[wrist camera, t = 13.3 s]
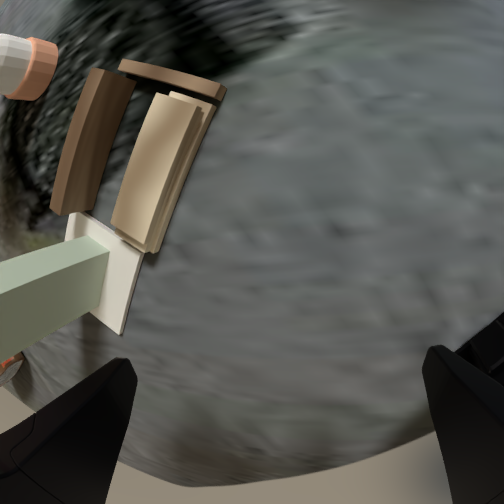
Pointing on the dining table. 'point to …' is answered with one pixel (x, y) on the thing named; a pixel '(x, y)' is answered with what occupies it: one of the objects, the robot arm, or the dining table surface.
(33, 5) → the dining table surface
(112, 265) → the white mat
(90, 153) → the offcut rack
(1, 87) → the salt shaker
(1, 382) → the tin
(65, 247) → the sage green brick
